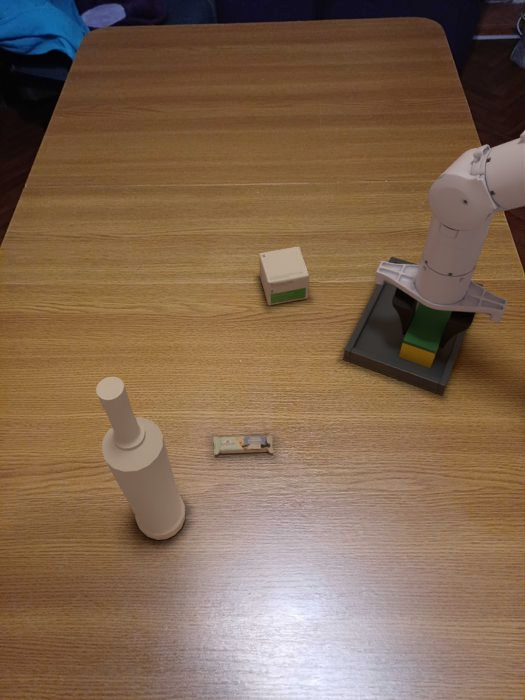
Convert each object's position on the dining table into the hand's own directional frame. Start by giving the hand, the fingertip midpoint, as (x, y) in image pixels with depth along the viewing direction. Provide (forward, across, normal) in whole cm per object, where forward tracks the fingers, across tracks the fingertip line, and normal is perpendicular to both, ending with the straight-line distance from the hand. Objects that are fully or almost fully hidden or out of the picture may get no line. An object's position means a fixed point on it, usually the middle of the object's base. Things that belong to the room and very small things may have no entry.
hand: (425, 335), depth 76 cm
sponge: (+1, 0, 0) cm, 1 cm away
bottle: (+2, +18, +33) cm, 38 cm away
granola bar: (+2, +14, +22) cm, 26 cm away
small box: (+2, +20, -2) cm, 20 cm away
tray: (+2, +2, -2) cm, 4 cm away
